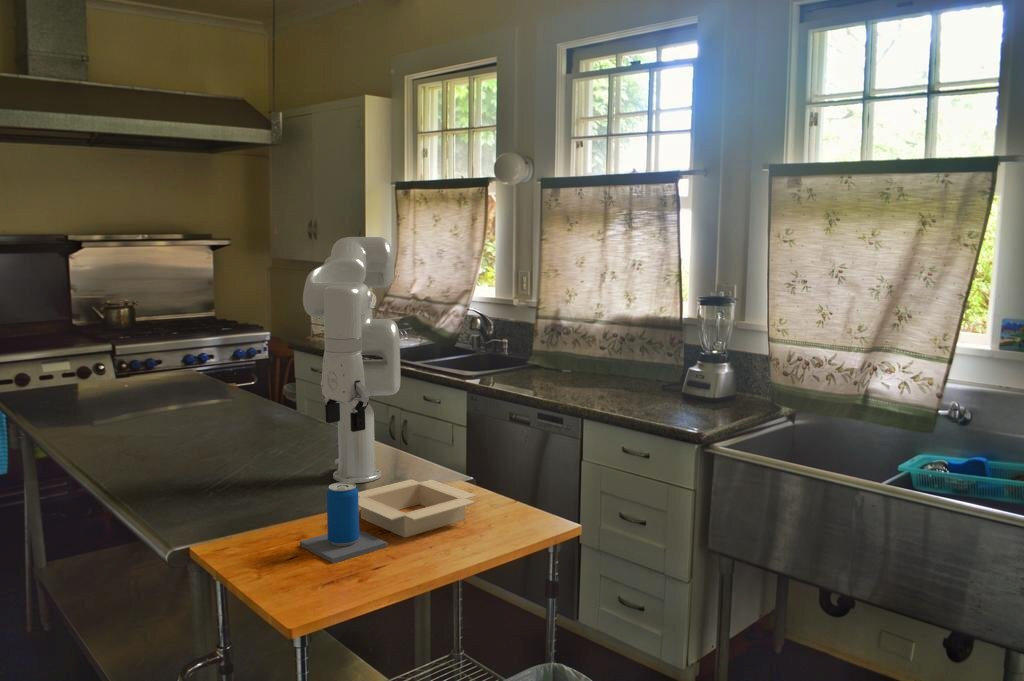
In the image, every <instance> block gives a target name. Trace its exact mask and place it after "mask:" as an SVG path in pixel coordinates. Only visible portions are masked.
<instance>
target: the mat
mask: <svg viewBox="0 0 1024 681" xmlns="http://www.w3.org/2000/svg"><path fill="white" fill-rule="evenodd" d="M299 546H300V547H302V548H303V549H305V550H306V551H309V552H311V553H313V554H314V555H317V556H318V557H320V558H322V559H324V560H326V561H328V562H330V563H332V564H335V563H339V562H342V561H345V560H349V559H352V558H355V557H359V556H362V555H365V554H368V553H373V552H375V551H378V550H381V549H385V548H388V542H387V541H384V540H383V539H380V538H379V537H376V536H374V535H372V534H369V533H367V532H365V531H363V530H362V529H359V539H358V540H356V542H355V543H353V544H351V545H347V546H336V545H333V544H332V543H331V542H329V541H328V533H325V534H322V535H321V534H320V535H317V536H313V537H311V538H307V539H306V538H305V539H303V540H300V541H299Z"/></svg>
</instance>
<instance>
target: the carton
mask: <svg viewBox="0 0 1024 681" xmlns="http://www.w3.org/2000/svg"><path fill="white" fill-rule="evenodd" d="M477 496H478V495H477V494H474V493H471V492H469V491H466V490H463V489H460V488H458V487H454V486H452V485H448V484H445V483H443V482H440V481H437V480H434V479H429V480H424V481H417V480H414V479H412V478H411V479H407V480H404V481H403V480H402V481H399V482H395V483H390V484H387V485H382V486H378V487H374V488H370V489H366V490H362V491H358V504H359V508H360V519H362V520H365V521H366V522H369V523H371V524H373V525H376V526H378V527H380V528H382V529H385V530H387V531H389V532H391V533H394V534H395V535H399V536H401V537H403V538H407V537H408V538H409V537H412V536H414V535H417V534H421V533H425V532H428V531H432V530H434V529H438V528H442V527H445V526H448V525H451V524H454V523H455V524H456V523H458V522H463V521H465V520H466V507H468V506H470V505H474V504H476V501H473V500H471V499H472V498H476V497H477ZM418 505H421V506H424V507H422V508H418V509H416V510H411V511H408V512H404V511H401V510H402V509H407V508H411V507H414V506H418Z"/></svg>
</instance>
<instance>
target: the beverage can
mask: <svg viewBox="0 0 1024 681" xmlns="http://www.w3.org/2000/svg"><path fill="white" fill-rule="evenodd" d="M358 492H359V490H358V488H357V484H356V483H349V482H335V483H332V484H329V486H328V489H327V491H326V522H327V524H326V526H327V534H328V541H329V542H331V543H332V544H333V545H336V546H347V545H351V544H353V543H355V542H356V540H358V539H359V530H360V518H359V517H360V514H359V513H360V512H359V511H360V509H359V508H360V507H359V504H358Z"/></svg>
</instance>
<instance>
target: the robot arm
mask: <svg viewBox="0 0 1024 681" xmlns="http://www.w3.org/2000/svg"><path fill="white" fill-rule="evenodd" d="M330 252H331V253H330V256H329V257H327V258H326V259H325V261H324V263H323V264H322V265H320V266H318V267H316V268H314V269H313V270H312V271H310V272H309V273H308V275H307V276H306V280H305V283H304V288H303V293H302V303H303V308H304V311H305V313H306V314H307V315H309V316H310V317H314V318H323V325H324V326H323V329H324V330H323V331H324V332H323V333H324V337H323V338H324V352H323V358H322V366H321V369H322V370H321V380H320V386H321V394H322V396H323V398H324V399H323V404H324V406H325V410H324V411H325V423H327V424H331V423H337V438H338V442H337V443H338V458H336V459H335V460H334V464H336V465H338V466H337V470H335V471H334V472H333V473H332V474H333V476H332V478H333V480H335V481H336V482H338V483H340V482H349V483H354V484H361V483H362V484H363V483H368V482H373V481H376V480H378V479H379V478H381V477H382V476H381V475H382V471H381V470H380V469H379V468H377V467H376V458H375V457H376V455H375V454H376V452H375V451H376V449H375V445H376V444H375V412H374V410H373V408H372V406H371V405H370V403H369V400H370V397H371V396H372V397H374V396H376V397H377V396H392V395H395V394H397V393H398V392H399V390H400V388H401V379H402V378H401V345H400V344H401V341H400V340H401V339H400V333H399V331H400V330H399V327H398V324H397V323H396V321H394V320H393V319H390V318H371V307H372V304H373V303H372V302H373V298H372V297H373V295H372V291H371V290H370V289H371V288H372V289H375V288H376V289H378V288H379V289H380V288H381V289H382V288H388V287H390V286H391V285H392V284H393V282H394V279H395V262H394V261H395V257H394V251H393V248H392V246H391V244H390V242H389V241H388V240H387V239H386V238H384V237H382V236H347V237H343V238H342V237H341V238H340V239H338V240H337V241H336V242H335V243H334V244H333V245H332V249H331V251H330ZM369 288H370V289H369ZM363 356H380V357H382V359H363Z"/></svg>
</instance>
